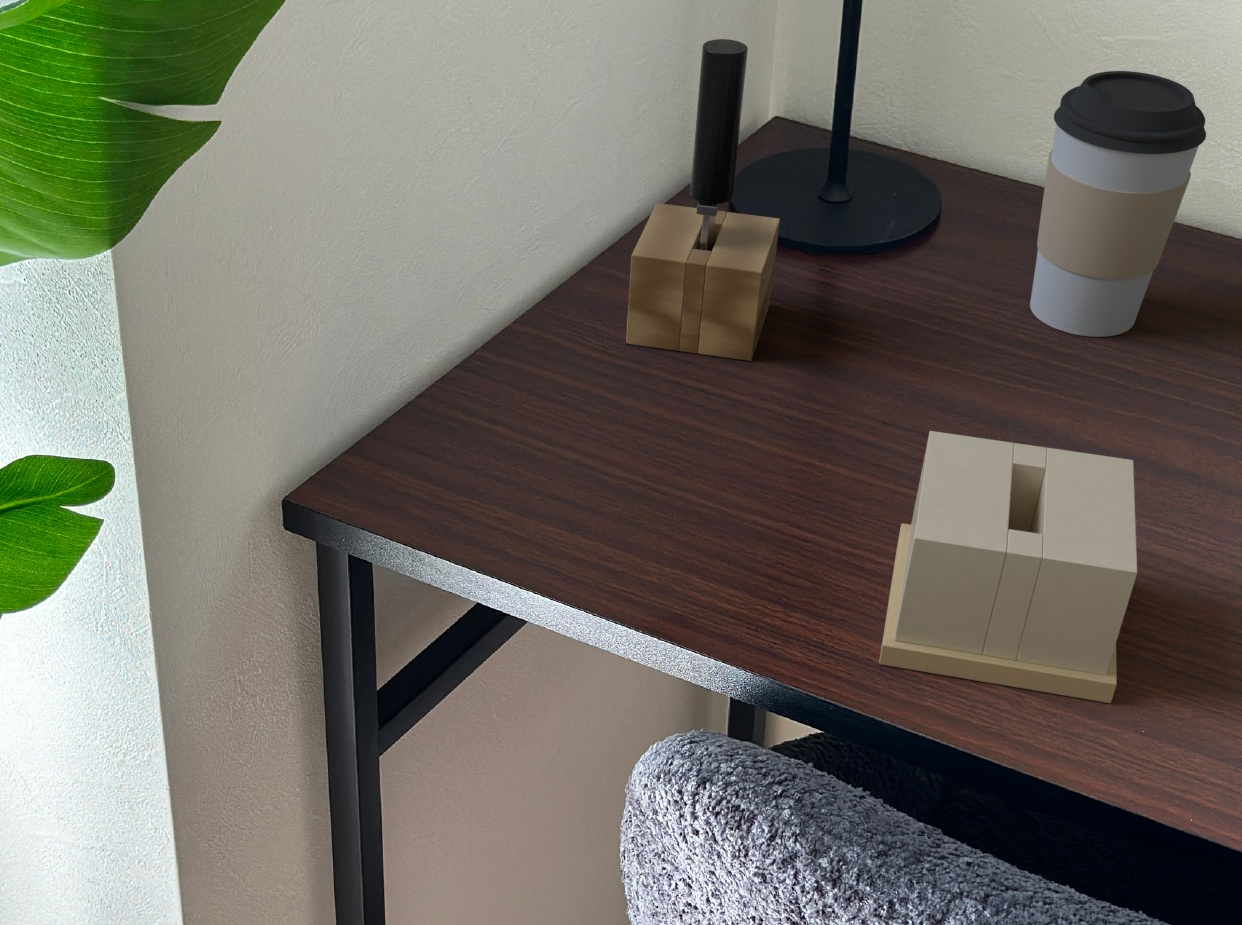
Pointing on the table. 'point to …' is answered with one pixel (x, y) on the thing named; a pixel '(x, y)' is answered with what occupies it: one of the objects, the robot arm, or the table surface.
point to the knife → (717, 129)
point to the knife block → (701, 283)
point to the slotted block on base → (1014, 567)
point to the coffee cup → (1111, 198)
